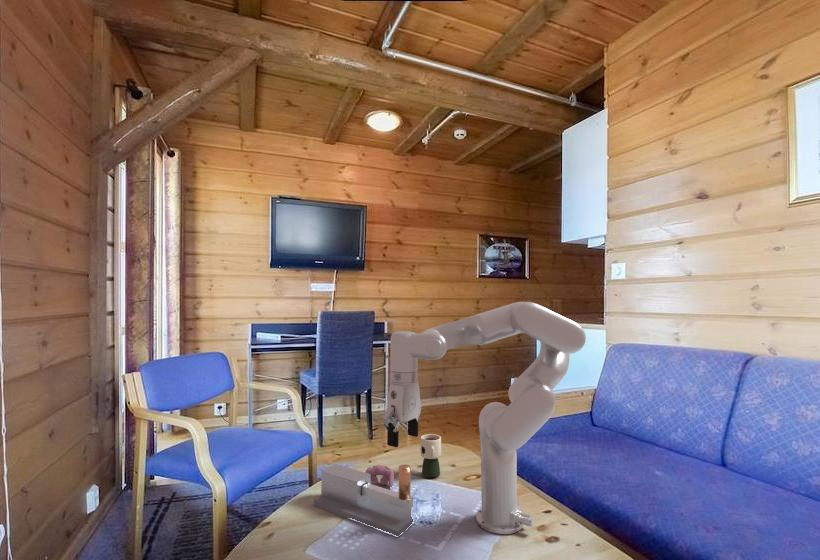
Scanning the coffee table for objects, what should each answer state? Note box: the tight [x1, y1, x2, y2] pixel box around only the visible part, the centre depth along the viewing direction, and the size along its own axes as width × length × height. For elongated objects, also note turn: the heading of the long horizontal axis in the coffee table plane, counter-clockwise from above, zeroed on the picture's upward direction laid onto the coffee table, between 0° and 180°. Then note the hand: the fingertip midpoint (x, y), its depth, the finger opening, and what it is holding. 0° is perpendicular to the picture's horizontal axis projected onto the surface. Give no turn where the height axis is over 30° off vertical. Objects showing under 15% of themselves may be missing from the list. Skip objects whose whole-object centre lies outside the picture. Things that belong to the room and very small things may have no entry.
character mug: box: [419, 433, 442, 479], centre depth 139 cm, size 11×7×13 cm, turn 4°
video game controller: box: [364, 464, 395, 488], centre depth 132 cm, size 10×5×7 cm, turn 85°
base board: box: [313, 496, 413, 536], centre depth 116 cm, size 30×12×2 cm, turn 57°
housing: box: [320, 463, 372, 509], centre depth 120 cm, size 14×6×7 cm, turn 57°
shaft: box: [361, 464, 414, 510], centre depth 114 cm, size 20×3×10 cm, turn 57°
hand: (403, 440), depth 110 cm, fingers open, 9 cm apart
